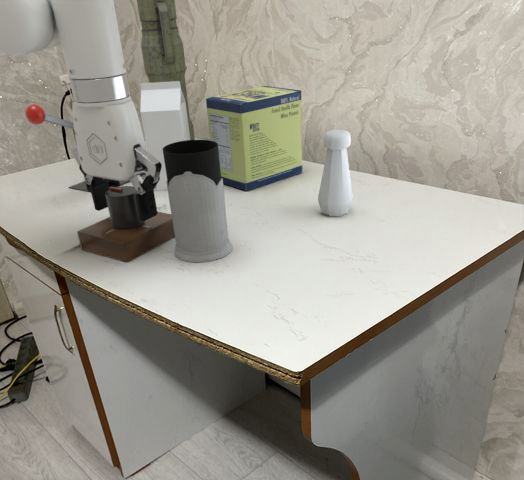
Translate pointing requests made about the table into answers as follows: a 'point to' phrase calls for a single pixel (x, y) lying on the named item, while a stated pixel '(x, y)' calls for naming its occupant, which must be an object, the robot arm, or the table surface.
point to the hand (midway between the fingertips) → (126, 212)
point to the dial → (123, 207)
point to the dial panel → (126, 237)
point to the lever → (44, 117)
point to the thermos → (163, 46)
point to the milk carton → (163, 120)
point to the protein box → (257, 135)
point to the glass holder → (197, 200)
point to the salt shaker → (336, 175)
